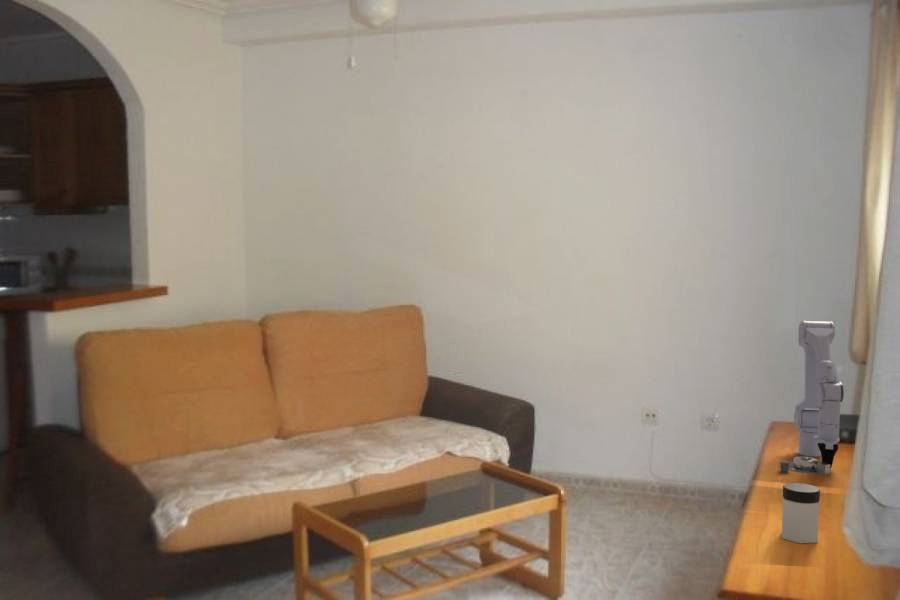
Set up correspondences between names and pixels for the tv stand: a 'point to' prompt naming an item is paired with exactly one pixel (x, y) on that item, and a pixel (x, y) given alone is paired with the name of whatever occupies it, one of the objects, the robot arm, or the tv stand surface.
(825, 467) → the turntable
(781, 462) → the stacked blocks
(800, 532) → the jar
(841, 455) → the tv stand surface
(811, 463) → the cover
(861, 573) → the tv stand surface
